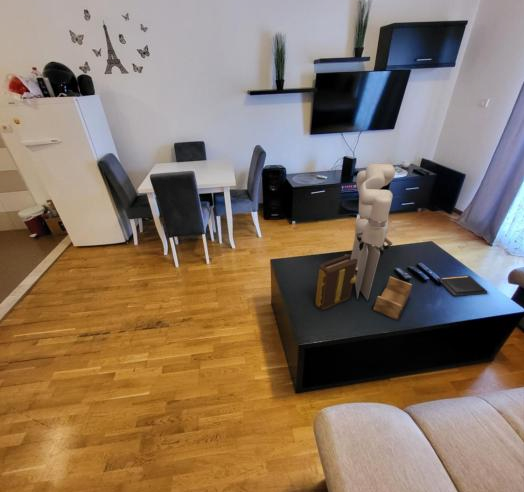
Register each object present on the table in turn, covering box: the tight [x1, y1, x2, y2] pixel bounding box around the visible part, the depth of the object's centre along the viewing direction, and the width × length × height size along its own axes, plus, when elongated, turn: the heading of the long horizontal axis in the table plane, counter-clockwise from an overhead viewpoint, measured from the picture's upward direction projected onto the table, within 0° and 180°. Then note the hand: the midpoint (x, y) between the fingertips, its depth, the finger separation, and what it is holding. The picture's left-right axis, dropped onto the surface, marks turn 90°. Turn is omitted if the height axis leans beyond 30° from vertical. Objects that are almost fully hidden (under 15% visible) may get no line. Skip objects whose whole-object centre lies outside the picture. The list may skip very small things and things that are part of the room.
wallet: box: [436, 275, 488, 297], centre depth 155 cm, size 20×2×15 cm
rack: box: [372, 276, 413, 321], centre depth 143 cm, size 12×20×9 cm, turn 142°
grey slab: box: [354, 242, 381, 302], centre depth 145 cm, size 14×6×30 cm, turn 168°
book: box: [314, 253, 358, 311], centre depth 141 cm, size 22×8×25 cm, turn 117°
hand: (370, 252), depth 139 cm, fingers open, 9 cm apart
